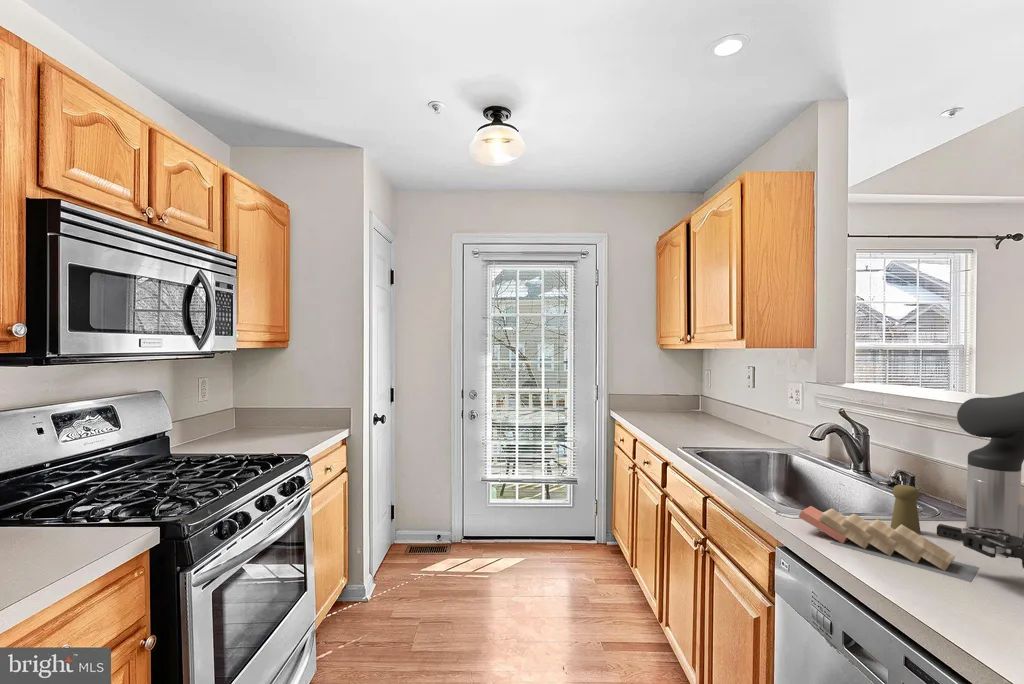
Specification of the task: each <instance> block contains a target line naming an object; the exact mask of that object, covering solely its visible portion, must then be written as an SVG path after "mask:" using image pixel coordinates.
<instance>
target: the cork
mask: <svg viewBox="0 0 1024 684" xmlns="http://www.w3.org/2000/svg"><path fill="white" fill-rule="evenodd" d="M892 495H893V496H894V498H895V499H894V503H893V504H894V505H893V510H892V511H893V512H892V517H891V523H890V525H889V526H890V527H891V528H893V529H896V528H897V527H899V526H900V525H901V524H902V525H903V526H905V527H907V528H909V529H910V530H912V531H914V532H915V533H917V534H919V535H920V534H921V527H920V526H921V525H920V519H919V518H920V517H919V512H918V511H919V510H918V502H917V501H919V499H920V491H919V489H918V488H916V487H914V486H912V485H907V484H897V485H894V486H893V489H892Z"/></svg>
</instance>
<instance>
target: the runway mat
mask: <svg viewBox="0 0 1024 684" xmlns="http://www.w3.org/2000/svg"><path fill="white" fill-rule="evenodd" d="M829 544H830V545H835V546H837V547H842V548H846V549H849V550H852V551H856V552H860V553H863V554H867V555H871V556H874V557H878V558H883V559H885V560H889V561H893V562H897V563H900V564H903V565H907V566H911V567H915V568H918V569H922V570H924V571H930V572H933V573H936V574H940V575H944V576H947V577H951V578H955V579H958V580H962V581H965V582H969V583H971V582H972V581H973V580H974V578H975V576H976V575H977V573H978V572H979V569H980V567H979V566H975V565H971V564H969V563H968V564H967V563H963V562H959V561H956V560H953V561H952V562H951V564H950V565H949V566H948V568H947V569H946V570H945V571H944V570H942V569H940V568H939V567H937V566H936V565H934V564H932V563H931V562H929V561H927V560H926V559H924V558H922V559H921V560H920V561H919V562H918V563H915V562H913V561H912V560H910V559H908V558H907V557H905V556H904V555H902V554H900V553H899V552H897V551H895V552H894V553H893V554H892V555H891V556H889V555H887V554H886V553H884V552H883V551H881V550H879V549H878V548H876V547H875V546H873V545H869V546H868V547H867V548H866V549H864V548H862V547H861V546H859V545H858V544H856V543H855V542H853V541H852V540H850V539H849V540H848V541H846V542H845V543H844V544H843V543H841V542H839V541H838V540H836V539H834V540H832V541H830V542H829Z"/></svg>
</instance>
